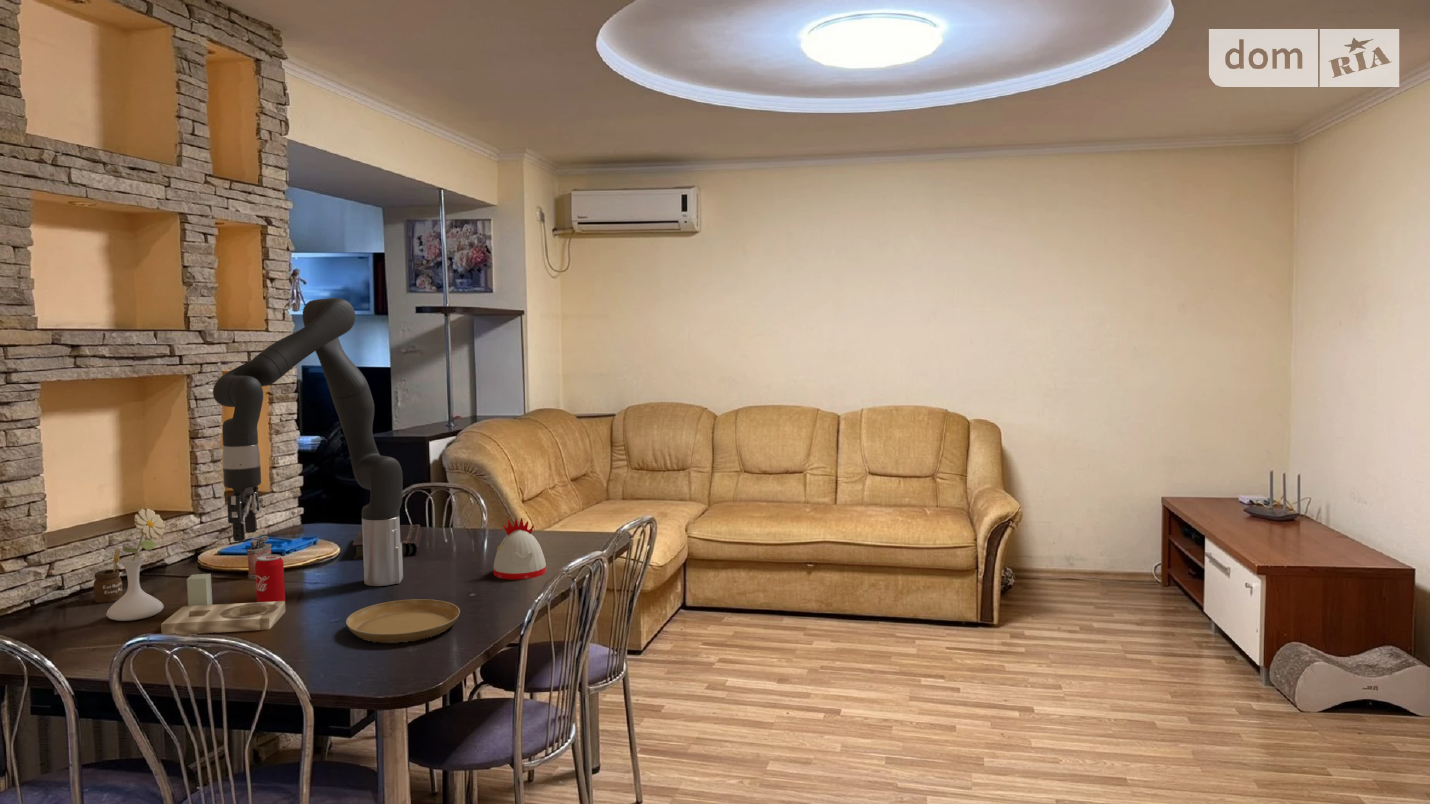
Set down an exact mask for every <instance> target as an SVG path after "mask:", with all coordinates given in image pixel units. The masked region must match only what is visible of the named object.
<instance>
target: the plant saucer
mask: <svg viewBox="0 0 1430 804" xmlns="http://www.w3.org/2000/svg"><path fill="white" fill-rule="evenodd" d="M460 613H461V610H460V608H459V607H458V606H457V605H456V604H454V603H452V602H450V601H445V600H437V599H425V598H424V599H422V598H421V599H419V598H415V599H414V598H412V599H402V600H401V599H400V600H392V601H386V602H381V603H377V604H373V605H369V606H366V607H364V608H361V609H358V610H356V611H354V612H353V613H351V614H349V616H348V617H347V618H346V620H345V623H346V626H347V628H348V629H349V631H350V632H351V633H352V634H353V635H355V636H356V637H358V638H360V639H361V638H362V640H364V641H366V640H367V642H370V641H373V642H372V643H376V642H379V643H378V644H400V643H399V642H404V643H409V642H408V641H412V642H417V640H418V641H422V640H421V639H423V640H425V638H427V639H429V638H428V637H430V638H433V637H435V635H436V636H438V635H441V634H443V633H444V632H446V631H447V630H449V629H450V628H451V627H453V625H454V624H455V622H456V621H457V620H458V618H459V616H460ZM442 632H443V633H442ZM440 633H441V634H440ZM437 634H438V635H437ZM432 636H433V637H432Z"/></svg>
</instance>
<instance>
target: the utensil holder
mask: <svg viewBox="0 0 1430 804" xmlns="http://www.w3.org/2000/svg"><path fill="white" fill-rule="evenodd" d="M120 554H121V549H120V548H115V551H114V555H113V562H114V564H113V565H114V566H113V569H103V570H102V569H101V570H100V569H99V566H98V565H100V567H104V565H106V564H105V561H104V558H103V559H102V558H101V557H96V558H94V560H92V562H94V564H92V566H93V568H94V570H95V573H94V579H95V580H94V582H93V596H94V597H93V598H94V601H95V602H96V603H98V604H99V603H102V604H103V603H104V604H105V603H112V602H116V601H118V600H119V599H120V598H121V597H122V596H123V581H122V578H121V577H120V573H121V572H120V570H119V569H116V567H117V563H118V562H120V556H121V555H120ZM95 560H98V561H99V562H96V561H95ZM98 563H100V564H98ZM101 565H102V566H101ZM97 569H99V570H97Z"/></svg>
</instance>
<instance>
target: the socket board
mask: <svg viewBox="0 0 1430 804" xmlns="http://www.w3.org/2000/svg"><path fill="white" fill-rule="evenodd" d="M285 613H286V600H285V601H275V602H257V601H256V602H242V603H236V602H235V603H220V604H212V605H197V606H188V605H184V606H181V607H180V608H179V609H178V610H177V611H175V612H174V613H173V614H172V615H170V616H169V617H167V618H166V619H165V620H164V621H163V622H162V623H161V624H160V626H161V627H160V628H161V629H160V630H161V634H162V633H176V634H179V635H194V634H211V633H214V632H215V633H228V632H231V633H232V632H233V633H234V632H248V631H266V630H267V631H268V630H271V628H272V627H273V626H274V625H275V624H276V623H277V622H278V621H279V620H280V618H281V617H282V616H283V615H284V614H285ZM215 633H214V634H215Z"/></svg>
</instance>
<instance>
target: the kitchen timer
mask: <svg viewBox="0 0 1430 804" xmlns="http://www.w3.org/2000/svg"><path fill="white" fill-rule="evenodd" d="M514 519H515V520H514V523H513V526H512V522H511V520H510V519H509V518H508V519H507V526H506V525H505V524H503V523H502V526H503V528H504V530H505V532H506V536H505V537H504V538H503V539H502V541H501V543H499V546H498V547H497V548H496V553H495V559H494V561H493V576H494V577H496V578H499V579H501V580H504V579H505V580H527V579H533V578H537V577H540V576H543V575H544V574H545V573H546V572H547V565H546V564H547V563H546V559H545V555H544V553H543V550H542V547H541V545H540V544H539V542H538V540H537V538H536V537H535V536H534V535H533V534H532V532H533V530H534V527H535V526H534V525H533V524H532V525H531V527H530V528H529V529H528V526H529V521H526V522H525V524H524V521H523V520H524V519H523V518H522V517H521V518H520V521H519V525H518V520H517V518H516V517H515V518H514Z"/></svg>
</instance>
